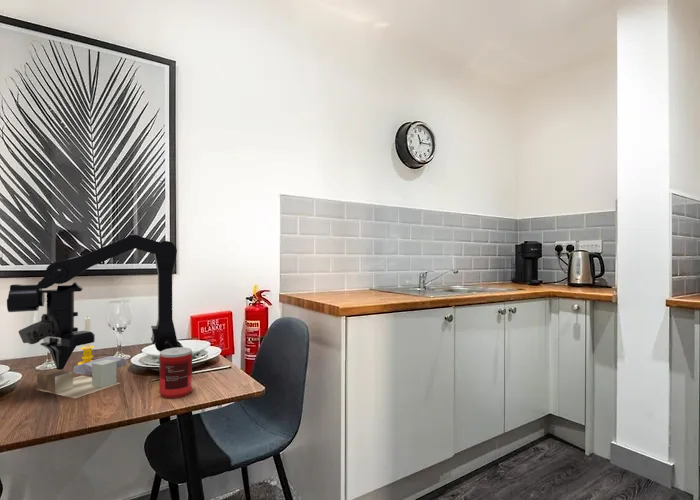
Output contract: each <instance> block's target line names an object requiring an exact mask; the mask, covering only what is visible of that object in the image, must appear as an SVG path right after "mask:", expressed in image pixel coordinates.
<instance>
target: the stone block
mask: <svg viewBox="0 0 700 500" xmlns="http://www.w3.org/2000/svg"><path fill="white" fill-rule="evenodd" d="M106 359H107V360H113V361H117V363H116V369H118V368H120V367H123V366H125V365H126V362H127V361H126V358H125V357H119V356H111V355H109V356H104V357H100V358H97V359H94V360H93V359H92V360H93V361H90V362H88V363H83V364H80V365H78V364H77V365H74V366H73V370H72V372H73V374H78V375H89V376H92V363H95V362H99V361H103V360H106Z"/></svg>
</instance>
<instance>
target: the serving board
mask: <svg viewBox="0 0 700 500" xmlns="http://www.w3.org/2000/svg"><path fill="white" fill-rule="evenodd" d="M119 384H121V382H117V381H116V383H115V384H112V385H109V386H106V387H103V388H100V387H96V386H92V376H86V375H79V376H77V377H76V376H75V377H73V388H71V389H67V390H64V391H61V392H58V393H55V392H50V391H46V390H42V389H37V388H35V390H37V391H41V392H44V393H48V394H49V393H50V394H54V395H59V396H63V397H67V398H71V399H77V398H80V397H83V396H84V397H85V396H86V395H89V394H92V393H96V392H99V391H101V390H105V389H108V388H111V387H114V386H116V385H119Z"/></svg>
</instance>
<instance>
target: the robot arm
mask: <svg viewBox="0 0 700 500" xmlns="http://www.w3.org/2000/svg"><path fill="white" fill-rule="evenodd" d="M133 249H136V250H139V251H142V252H146V253H149V254H152V255H153V257H154V262H155V266H156V272H157V322H156V325H151V326H150V327H151V328H150V329H151V333H152V334H151V335H152V336H151V337H150V340H151V343H152V344H154V346H155V348H156V351H158V352H159V353H160V352H161V351H163V350H165V349H169V348H178V347H184V346H183V345H182V343H181V342H180V341H178V338H177V333H176V329H175V326H174V325H175V323H174V320H173V271H174V269H175V267H174V266H175V263H176V258H177V253H178V250H177V246H176V245H175V244H174V243H173V242H171V241H168V240H162V241H156V240H153V239H149V238H146V237H143V236H140V235H138V234H135V233H131V234H129V235H127V236H126V237H124V238H121V239H119V240H116V241H114V242H111V243H109V244H107V245H105V246H102V247H100V248H97V249H95V250H92V251H90V252H88V253H85V254H82V255H78V256H74V257H71V258H67V259H62V260H59V261H54V262H51V263H50V264H49V265H47V267H46V269H45V275H44V277H43V278H42V279H41V280H40V281H38V283H37V284H19V283H18V284H11V285H10V286H9V291H8V297H7V298H6V308H7V312H8V313H19V312H38V311H39V309H40V307H44V305H45V300H46V313H42V315H41V320H40V321H38V322H35V323H32V324H29V325H28V326H26V327H24V328H22V329H20V330H18V335H19V336H20V339H21V341H22V343H23V344H29V345H34V344H37V343H39V342H41V341H42V340H43V342H41V343H39V344H40V346H42V347H44V348H46V349H48V351H49V353H50V354H51V355H50V356H51V357H52V359H53V362H54V365H55V369H57V370H63V369H64V368H65V366H66V365H67V363H68V361H69V359H70V357H71V356H72V354H73V352H74V350H75V348H76V347H78V346H84V344H88V343H91V344H92V343H95V342H96V341H95V339H96V338H95V334H94V332H92V331H90V332H89V331H84V330H79V328H78V327H75V317H78V316H79V312H78V311H75V292H77V293H78V292H82V290H84V288H83V287H82V286H81V285H79V283H78V282H76V281H74V282H73V283H72V284H67V285H63V284H65V283H68V282H69V281H71V280H73V279H74V278H75V277H77V276H79V275H80V274H82V273H84V271H87V270H88V269H89V268H91V267H93V266H96V265H99V264H100V263H103V262H105V261H108V260H110V259H113V258H114V257H117V256H119V255H122V254H124V253H125V252H128V251H130V250H133ZM56 284H57V287H56V289H48V288H50V287H52V286H54V285H56ZM45 294H46V295H45ZM45 297H46V298H45ZM78 330H79V331H78Z"/></svg>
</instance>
